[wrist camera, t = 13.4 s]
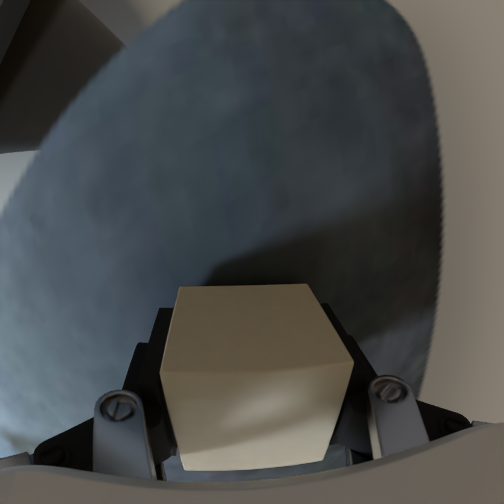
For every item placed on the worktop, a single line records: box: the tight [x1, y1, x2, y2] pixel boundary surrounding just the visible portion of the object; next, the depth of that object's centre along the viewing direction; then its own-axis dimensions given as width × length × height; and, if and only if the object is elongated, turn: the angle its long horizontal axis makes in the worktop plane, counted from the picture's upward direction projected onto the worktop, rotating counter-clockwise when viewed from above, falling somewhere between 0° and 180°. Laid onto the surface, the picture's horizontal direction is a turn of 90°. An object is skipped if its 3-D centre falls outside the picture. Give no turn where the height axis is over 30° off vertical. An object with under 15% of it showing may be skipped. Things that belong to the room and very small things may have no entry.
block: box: [160, 284, 354, 471], centre depth 9 cm, size 4×4×4 cm
